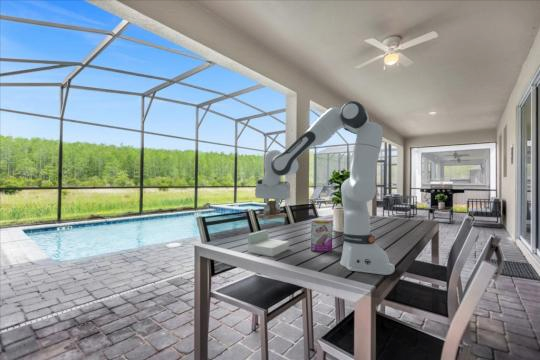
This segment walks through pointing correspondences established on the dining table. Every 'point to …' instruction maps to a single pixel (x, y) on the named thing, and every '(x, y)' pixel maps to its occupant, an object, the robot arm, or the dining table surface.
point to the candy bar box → (321, 235)
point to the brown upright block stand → (271, 211)
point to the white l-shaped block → (265, 244)
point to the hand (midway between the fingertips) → (272, 207)
